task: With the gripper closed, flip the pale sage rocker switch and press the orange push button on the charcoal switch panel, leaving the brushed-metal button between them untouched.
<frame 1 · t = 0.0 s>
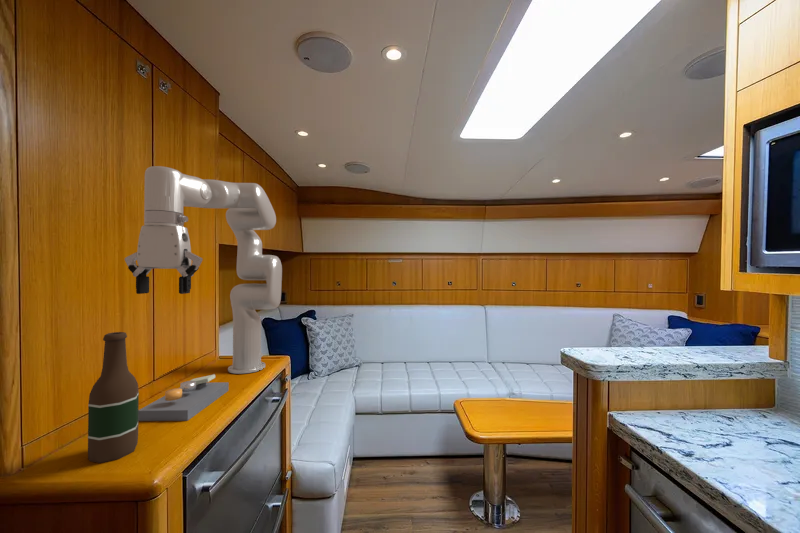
hand: (163, 293, 78), 31 cm above the countertop, fingers open, 9 cm apart
button metal: (188, 386, 90), point 5 cm above the countertop, slide at 0.0 cm
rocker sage: (200, 380, 96), point 4 cm above the countertop, hinge at 12.0°
panel: (188, 404, 90), on the countertop
beer bottle: (114, 453, 66), on the countertop
button orange: (173, 394, 84), point 5 cm above the countertop, slide at 0.0 cm
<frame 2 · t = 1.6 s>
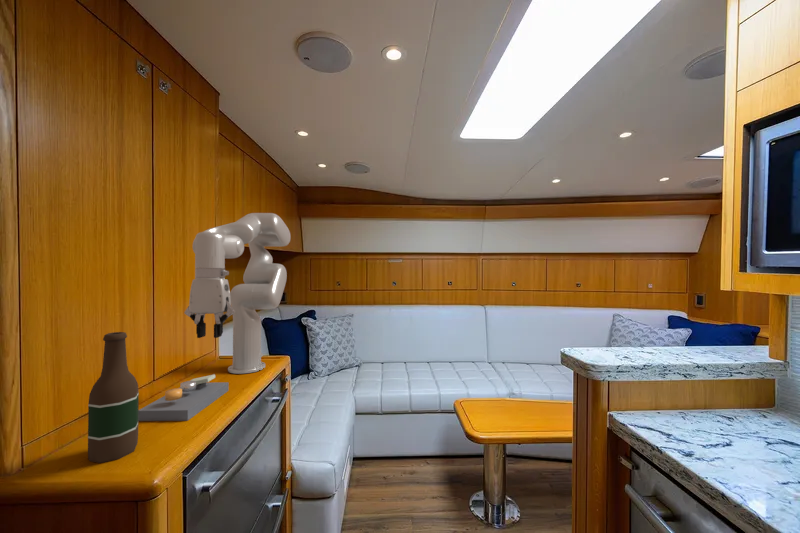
hand: (209, 336, 96), 17 cm above the countertop, fingers open, 4 cm apart
nothing on the countertop moved.
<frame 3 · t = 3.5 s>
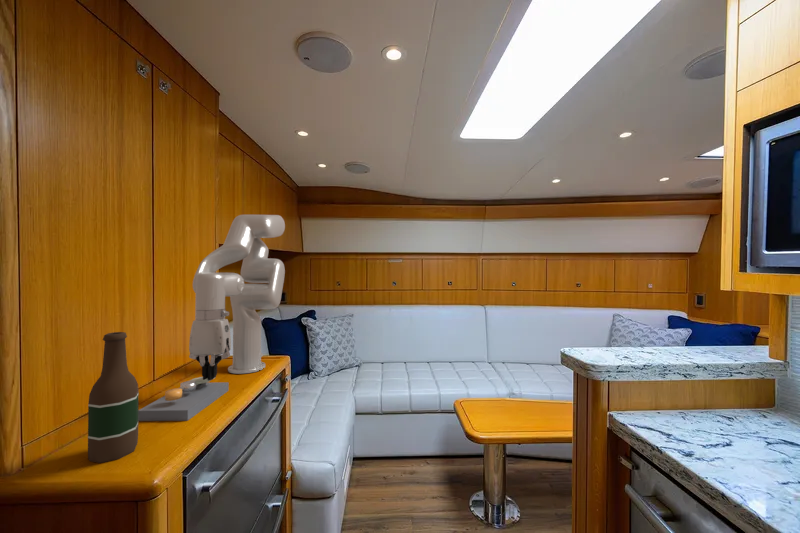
hand: (209, 378, 96), 5 cm above the countertop, fingers closed
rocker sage: (200, 380, 96), point 4 cm above the countertop, hinge at 10.9°, touching gripper
everything else where it was.
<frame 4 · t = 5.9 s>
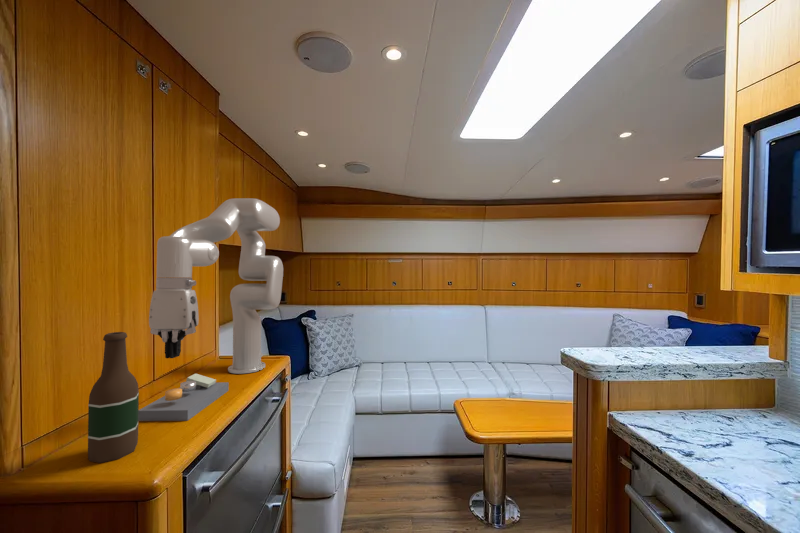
hand: (172, 356, 84), 15 cm above the countertop, fingers closed
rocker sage: (201, 380, 96), point 4 cm above the countertop, hinge at -17.4°
everything else where it was.
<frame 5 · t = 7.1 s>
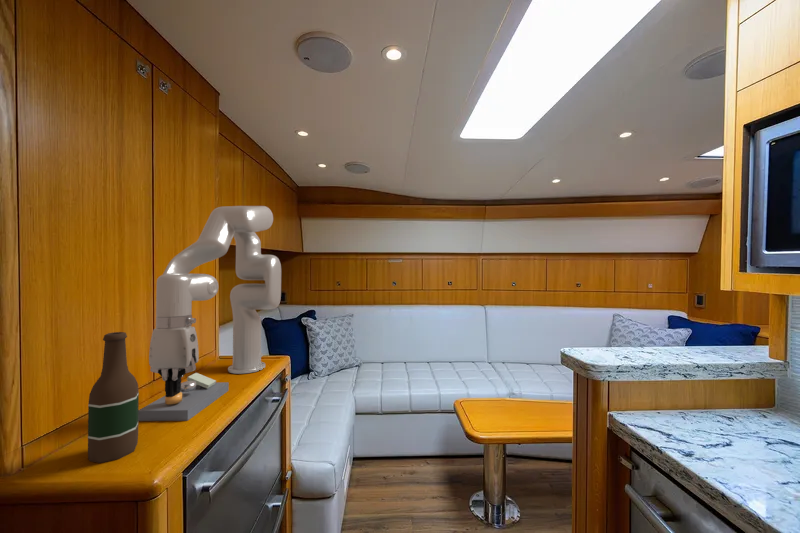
hand: (172, 394, 84), 5 cm above the countertop, fingers closed
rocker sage: (201, 380, 96), point 4 cm above the countertop, hinge at -22.8°
button orange: (173, 398, 84), point 4 cm above the countertop, slide at 0.9 cm, touching gripper
everything else where it was.
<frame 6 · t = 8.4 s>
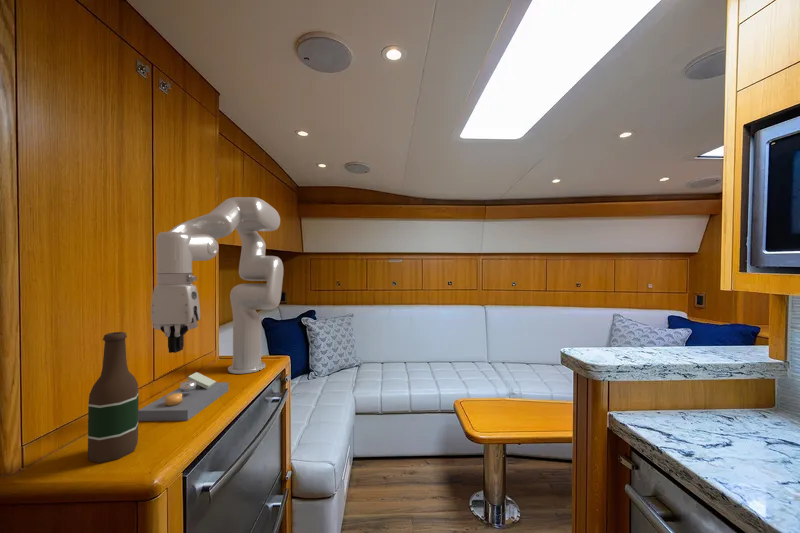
hand: (175, 351, 85), 16 cm above the countertop, fingers closed
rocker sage: (201, 380, 96), point 4 cm above the countertop, hinge at -26.0°
button orange: (173, 399, 84), point 4 cm above the countertop, slide at 1.2 cm
everything else where it was.
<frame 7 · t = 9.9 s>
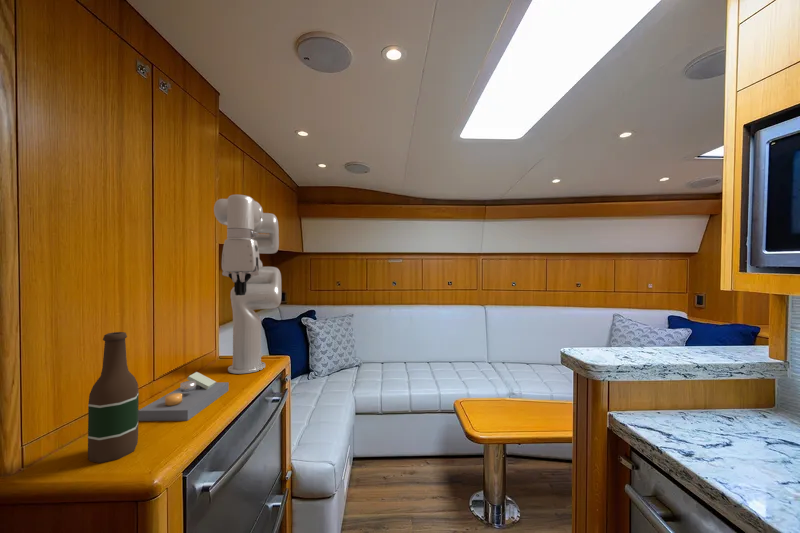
hand: (240, 294, 102), 29 cm above the countertop, fingers closed
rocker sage: (201, 380, 96), point 4 cm above the countertop, hinge at -27.8°
everything else where it was.
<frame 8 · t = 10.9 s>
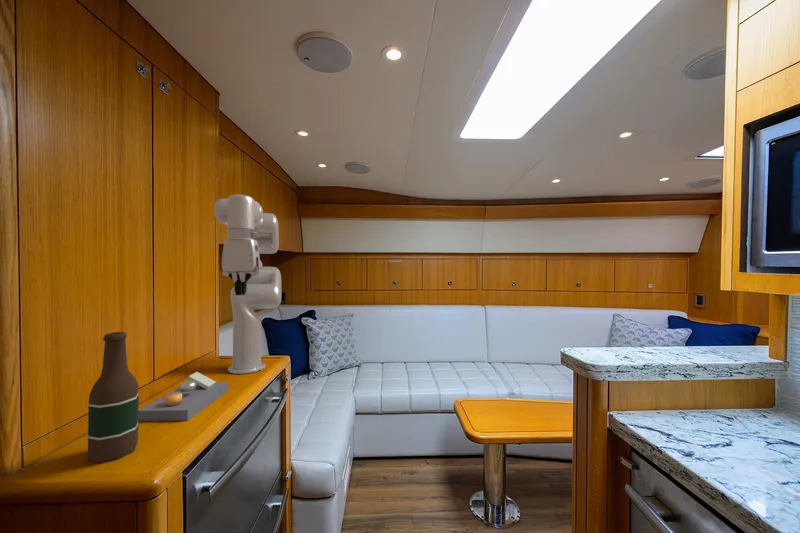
hand: (240, 294, 102), 29 cm above the countertop, fingers closed
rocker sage: (201, 380, 96), point 4 cm above the countertop, hinge at -28.5°, touching panel
everything else where it was.
at the end: button orange slide at 1.2 cm; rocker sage at -29° (first picture: +12°); button metal slide at 0.0 cm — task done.
